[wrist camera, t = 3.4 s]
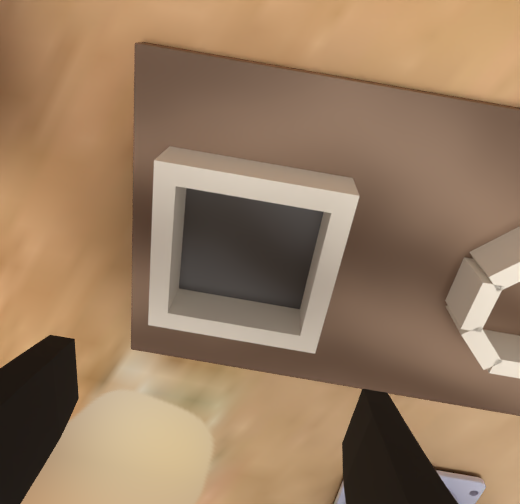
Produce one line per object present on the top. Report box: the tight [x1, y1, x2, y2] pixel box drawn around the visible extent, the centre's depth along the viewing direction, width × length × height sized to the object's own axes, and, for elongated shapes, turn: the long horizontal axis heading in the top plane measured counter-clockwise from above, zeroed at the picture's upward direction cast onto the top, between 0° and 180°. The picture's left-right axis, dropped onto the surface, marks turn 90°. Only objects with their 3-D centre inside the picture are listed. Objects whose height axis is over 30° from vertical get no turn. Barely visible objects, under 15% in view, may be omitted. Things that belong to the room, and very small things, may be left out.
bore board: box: [131, 42, 520, 416], centre depth 18 cm, size 14×22×3 cm, turn 81°
